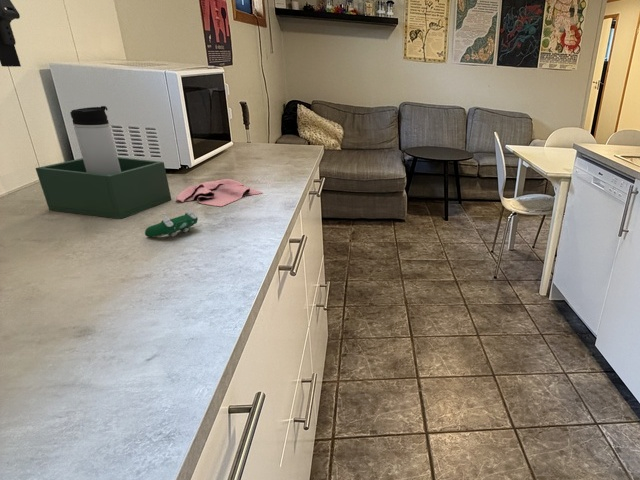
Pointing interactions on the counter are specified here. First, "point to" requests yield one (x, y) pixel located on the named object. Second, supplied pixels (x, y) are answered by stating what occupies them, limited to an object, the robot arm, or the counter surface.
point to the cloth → (216, 192)
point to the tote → (104, 188)
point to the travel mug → (95, 140)
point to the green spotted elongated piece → (172, 225)
